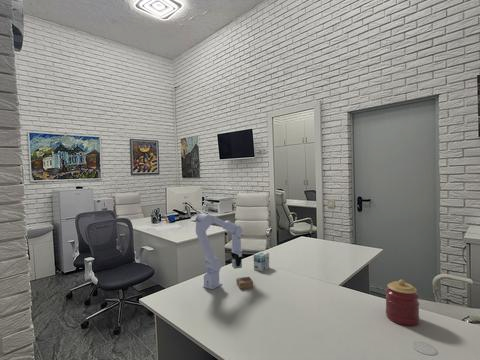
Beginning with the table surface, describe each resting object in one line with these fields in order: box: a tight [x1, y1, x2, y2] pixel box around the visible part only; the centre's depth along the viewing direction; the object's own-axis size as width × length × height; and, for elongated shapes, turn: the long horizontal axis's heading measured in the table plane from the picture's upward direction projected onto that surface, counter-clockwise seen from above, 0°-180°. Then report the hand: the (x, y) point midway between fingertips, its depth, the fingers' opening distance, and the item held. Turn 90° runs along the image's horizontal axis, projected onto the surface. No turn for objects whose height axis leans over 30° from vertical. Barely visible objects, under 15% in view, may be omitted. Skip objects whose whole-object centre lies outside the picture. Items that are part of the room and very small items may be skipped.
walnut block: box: [236, 276, 254, 290], centre depth 158 cm, size 8×8×4 cm
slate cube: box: [231, 258, 243, 270], centre depth 171 cm, size 5×5×5 cm
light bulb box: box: [253, 250, 270, 272], centre depth 187 cm, size 11×7×11 cm, turn 143°
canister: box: [385, 279, 420, 327], centre depth 119 cm, size 13×13×18 cm
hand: (236, 264), depth 171 cm, fingers closed on slate cube, 5 cm apart
